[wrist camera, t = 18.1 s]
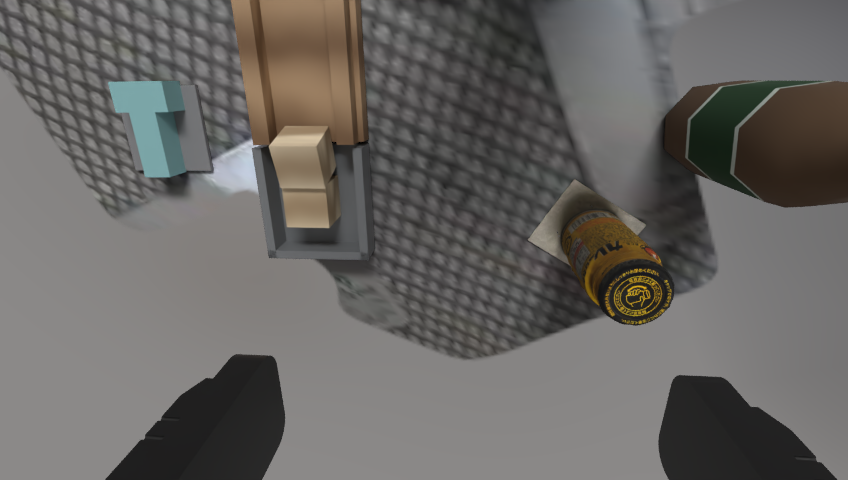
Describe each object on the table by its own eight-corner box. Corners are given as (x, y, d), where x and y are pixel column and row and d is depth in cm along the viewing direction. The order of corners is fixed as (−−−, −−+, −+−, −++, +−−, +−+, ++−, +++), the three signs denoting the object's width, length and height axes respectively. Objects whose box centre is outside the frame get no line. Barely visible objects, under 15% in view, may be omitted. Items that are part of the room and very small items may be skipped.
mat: (117, 86, 40) (114, 86, 40) (197, 84, 40) (194, 84, 39) (138, 169, 43) (135, 170, 43) (213, 169, 42) (211, 170, 42)
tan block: (297, 175, 41) (281, 184, 38) (337, 175, 41) (325, 185, 37) (302, 214, 43) (286, 227, 39) (341, 214, 42) (329, 228, 39)
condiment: (596, 281, 43) (642, 352, 32) (527, 239, 42) (550, 297, 31) (645, 224, 41) (714, 279, 29) (573, 178, 40) (616, 217, 28)
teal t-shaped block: (107, 81, 37) (132, 177, 40) (161, 81, 37) (182, 177, 40) (128, 81, 40) (151, 171, 43) (179, 81, 39) (198, 171, 42)
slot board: (236, -72, 35) (210, -89, 31) (355, -78, 34) (343, -96, 30) (266, 139, 41) (247, 144, 37) (368, 139, 40) (359, 144, 36)
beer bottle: (737, 60, 35) (1223, 26, 13) (765, 143, 37) (1225, 240, 15) (644, 109, 37) (922, 156, 15) (676, 185, 39) (961, 328, 17)
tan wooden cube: (285, 125, 38) (268, 146, 35) (328, 125, 37) (316, 146, 34) (295, 165, 40) (280, 188, 37) (336, 166, 40) (325, 188, 37)
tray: (267, 143, 41) (251, 148, 38) (368, 143, 40) (361, 148, 37) (282, 246, 45) (269, 257, 42) (375, 247, 44) (368, 260, 41)
